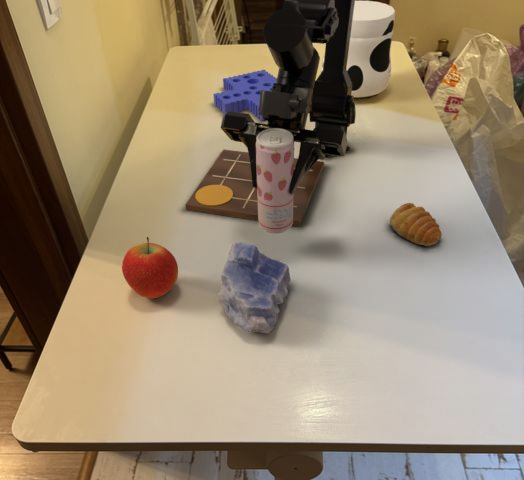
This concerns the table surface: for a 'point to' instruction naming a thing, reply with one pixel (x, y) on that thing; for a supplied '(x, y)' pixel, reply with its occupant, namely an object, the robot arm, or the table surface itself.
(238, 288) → the mineral
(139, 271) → the apple
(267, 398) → the table surface
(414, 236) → the pastry
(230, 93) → the building block
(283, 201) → the beverage can
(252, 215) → the board
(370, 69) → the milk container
